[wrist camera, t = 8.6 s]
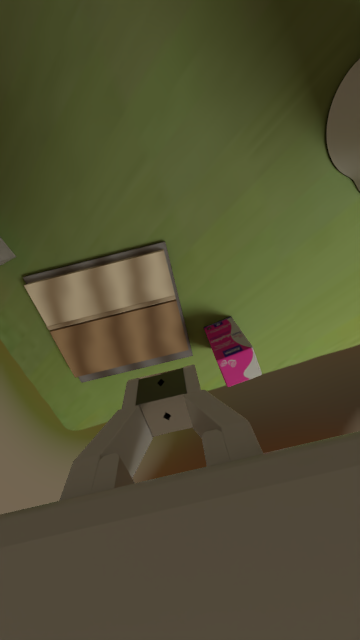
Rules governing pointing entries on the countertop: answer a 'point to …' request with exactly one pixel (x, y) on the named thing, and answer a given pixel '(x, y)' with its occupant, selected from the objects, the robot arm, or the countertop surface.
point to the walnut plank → (122, 338)
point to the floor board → (107, 293)
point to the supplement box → (232, 352)
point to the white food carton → (5, 252)
